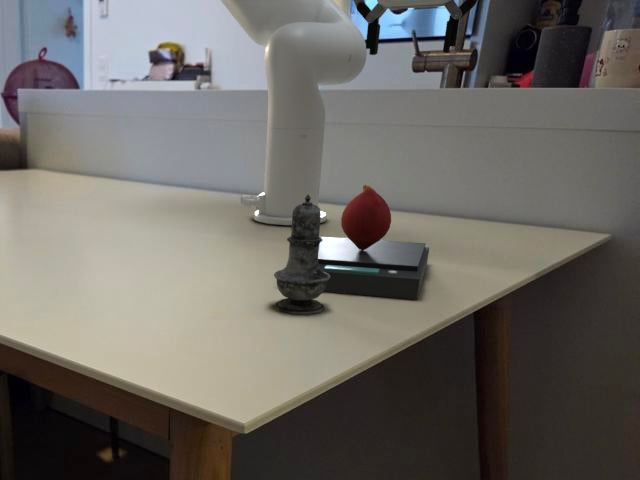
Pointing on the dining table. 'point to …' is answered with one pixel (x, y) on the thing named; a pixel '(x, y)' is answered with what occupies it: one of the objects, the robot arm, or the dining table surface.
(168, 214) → the dining table surface
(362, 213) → the onion
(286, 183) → the robot arm
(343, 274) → the scale
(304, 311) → the salt shaker
